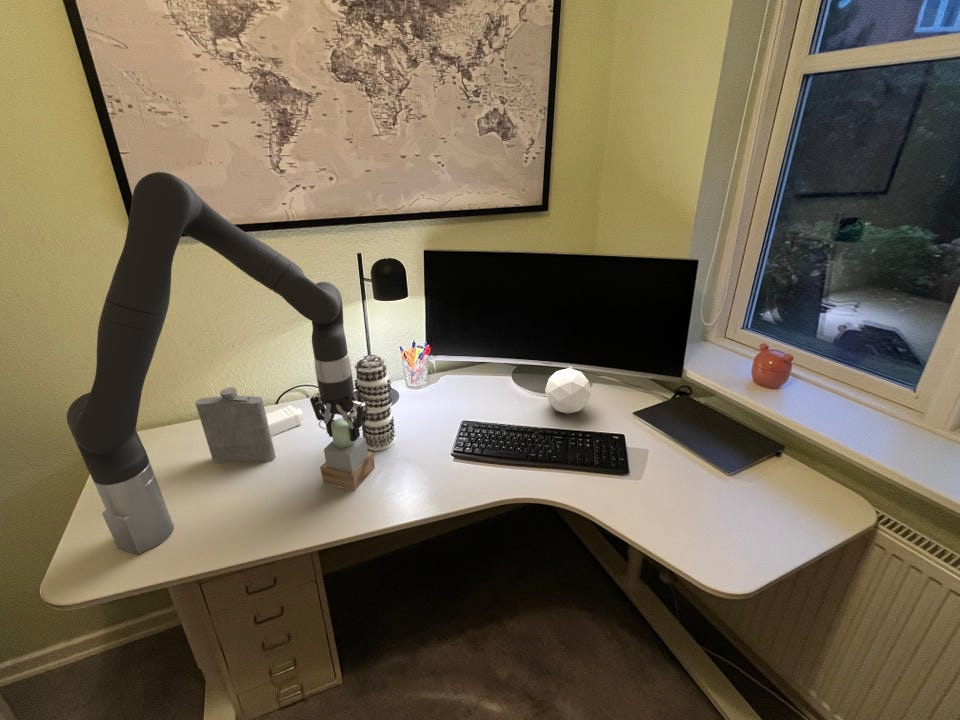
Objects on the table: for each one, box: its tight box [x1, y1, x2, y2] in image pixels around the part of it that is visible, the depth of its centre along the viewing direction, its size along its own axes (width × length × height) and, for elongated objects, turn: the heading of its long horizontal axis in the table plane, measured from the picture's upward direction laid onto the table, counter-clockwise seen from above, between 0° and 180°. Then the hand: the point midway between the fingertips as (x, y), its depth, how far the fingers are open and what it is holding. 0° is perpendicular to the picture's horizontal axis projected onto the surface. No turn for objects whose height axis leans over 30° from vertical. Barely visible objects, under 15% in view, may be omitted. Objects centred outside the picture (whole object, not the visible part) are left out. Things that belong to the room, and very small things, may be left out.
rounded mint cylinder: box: [331, 417, 355, 447], centre depth 113 cm, size 5×5×5 cm
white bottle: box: [266, 404, 304, 437], centre depth 138 cm, size 7×13×4 cm, turn 132°
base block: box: [319, 450, 376, 492], centre depth 118 cm, size 9×9×5 cm
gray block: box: [323, 436, 368, 472], centre depth 115 cm, size 7×7×5 cm
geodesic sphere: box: [544, 365, 592, 415], centre depth 144 cm, size 14×14×14 cm
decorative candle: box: [353, 354, 396, 452], centre depth 126 cm, size 9×9×25 cm
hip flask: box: [195, 386, 277, 464], centre depth 121 cm, size 16×4×20 cm, turn 91°
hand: (343, 437), depth 114 cm, fingers open, 5 cm apart
